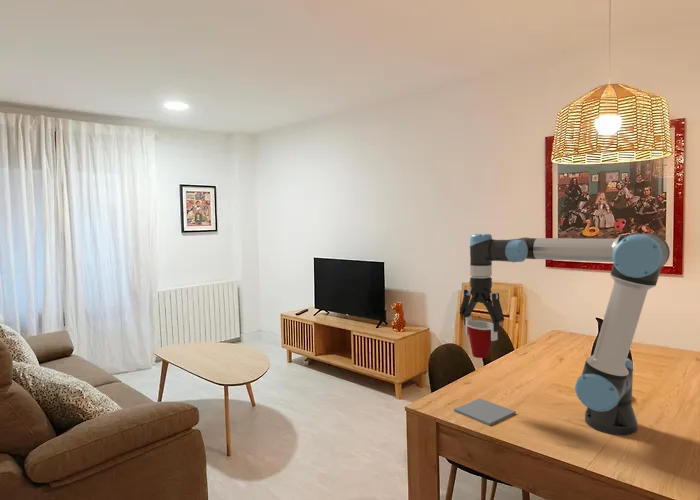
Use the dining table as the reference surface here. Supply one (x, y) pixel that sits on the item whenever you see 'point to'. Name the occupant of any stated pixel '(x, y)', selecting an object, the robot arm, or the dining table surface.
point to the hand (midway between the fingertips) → (481, 337)
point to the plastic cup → (479, 338)
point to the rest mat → (484, 411)
